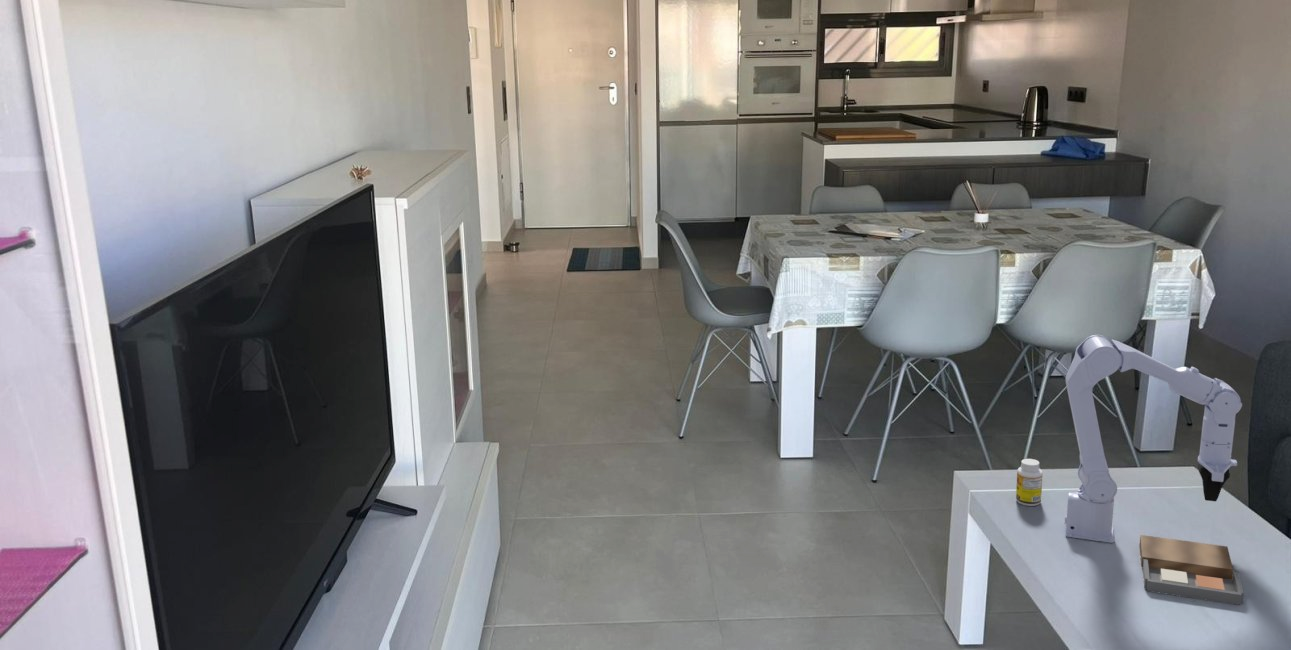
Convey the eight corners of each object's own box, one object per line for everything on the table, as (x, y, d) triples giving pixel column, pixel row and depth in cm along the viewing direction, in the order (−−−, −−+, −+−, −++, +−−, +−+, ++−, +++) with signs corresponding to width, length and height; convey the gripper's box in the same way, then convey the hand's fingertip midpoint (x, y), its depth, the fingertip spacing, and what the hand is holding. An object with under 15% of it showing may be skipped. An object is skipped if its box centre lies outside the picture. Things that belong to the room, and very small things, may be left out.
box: (1144, 590, 189) (1145, 580, 189) (1142, 568, 197) (1143, 558, 197) (1242, 605, 183) (1244, 595, 182) (1236, 582, 190) (1238, 572, 190)
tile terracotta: (1195, 574, 190) (1195, 582, 191) (1197, 586, 186) (1197, 593, 187) (1222, 578, 188) (1221, 585, 189) (1224, 590, 184) (1224, 597, 185)
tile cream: (1160, 568, 193) (1159, 575, 194) (1161, 579, 189) (1161, 586, 190) (1186, 572, 191) (1185, 579, 192) (1188, 583, 187) (1187, 590, 188)
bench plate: (1141, 567, 198) (1142, 556, 197) (1139, 545, 206) (1140, 534, 206) (1232, 580, 191) (1233, 569, 190) (1226, 557, 200) (1227, 546, 199)
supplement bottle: (1018, 495, 233) (1020, 455, 230) (1042, 499, 230) (1045, 459, 227) (1013, 504, 228) (1015, 464, 225) (1038, 508, 225) (1041, 468, 222)
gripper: (1243, 454, 193) (1236, 516, 197) (1234, 429, 206) (1228, 488, 209) (1203, 450, 196) (1197, 512, 200) (1196, 426, 209) (1191, 484, 212)
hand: (1210, 499), depth 205 cm, fingers closed
